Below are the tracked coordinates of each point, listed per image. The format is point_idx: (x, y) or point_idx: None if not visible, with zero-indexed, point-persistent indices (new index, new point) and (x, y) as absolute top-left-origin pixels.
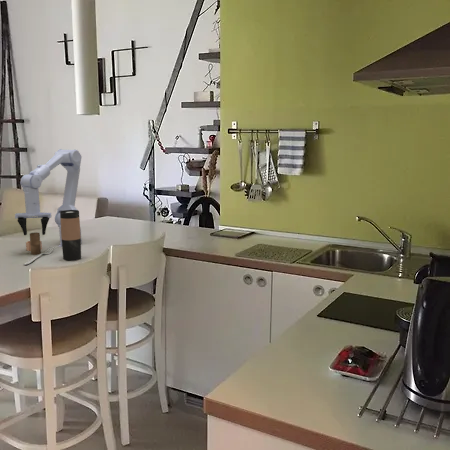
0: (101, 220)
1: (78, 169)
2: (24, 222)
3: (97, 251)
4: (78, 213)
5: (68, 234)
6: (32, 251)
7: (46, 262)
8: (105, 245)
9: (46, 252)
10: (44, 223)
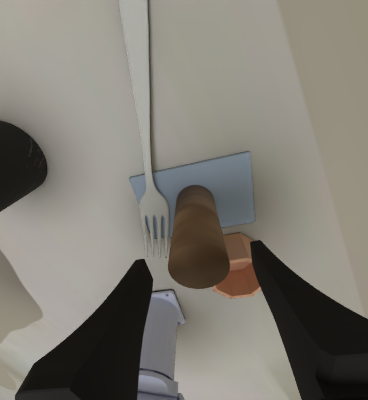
0: None
1: None
2: (296, 344)
3: (19, 262)
4: None
5: None
6: (201, 191)
7: (68, 73)
8: (54, 315)
9: (158, 215)
10: (77, 335)
